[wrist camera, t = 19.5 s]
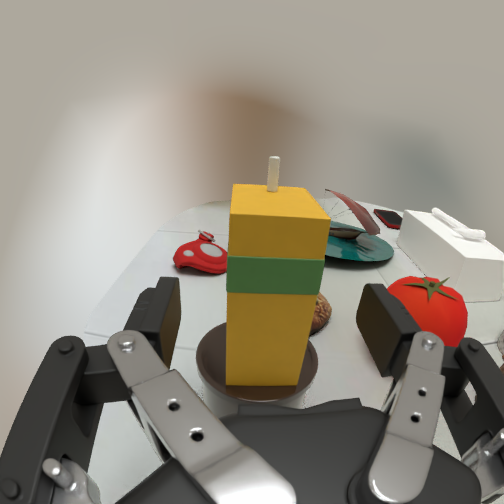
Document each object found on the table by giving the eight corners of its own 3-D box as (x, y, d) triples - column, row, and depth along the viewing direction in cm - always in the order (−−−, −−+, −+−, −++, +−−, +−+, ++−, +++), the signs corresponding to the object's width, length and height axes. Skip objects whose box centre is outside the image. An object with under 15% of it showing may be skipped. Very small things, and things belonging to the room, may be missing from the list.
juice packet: (224, 385, 18) (230, 167, 12) (227, 326, 23) (234, 151, 18) (297, 386, 18) (338, 175, 12) (286, 327, 23) (309, 156, 18)
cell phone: (388, 227, 76) (389, 224, 76) (372, 211, 89) (373, 208, 89) (412, 230, 76) (413, 227, 76) (394, 214, 89) (394, 211, 89)
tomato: (449, 342, 34) (477, 277, 30) (442, 398, 25) (485, 325, 21) (376, 316, 40) (395, 250, 36) (350, 364, 31) (376, 287, 27)
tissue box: (449, 302, 43) (469, 244, 39) (396, 244, 66) (406, 199, 61) (498, 300, 44) (517, 250, 39) (442, 248, 66) (452, 207, 62)
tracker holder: (244, 264, 50) (190, 263, 44) (235, 284, 52) (182, 286, 46) (214, 224, 58) (165, 220, 52) (206, 244, 60) (159, 241, 54)
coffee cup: (289, 469, 20) (313, 412, 16) (188, 446, 21) (176, 382, 17) (304, 384, 29) (322, 316, 25) (223, 369, 30) (223, 299, 26)
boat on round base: (408, 279, 50) (425, 221, 46) (258, 252, 53) (268, 189, 49) (375, 235, 76) (385, 195, 72) (273, 216, 79) (279, 174, 75)
